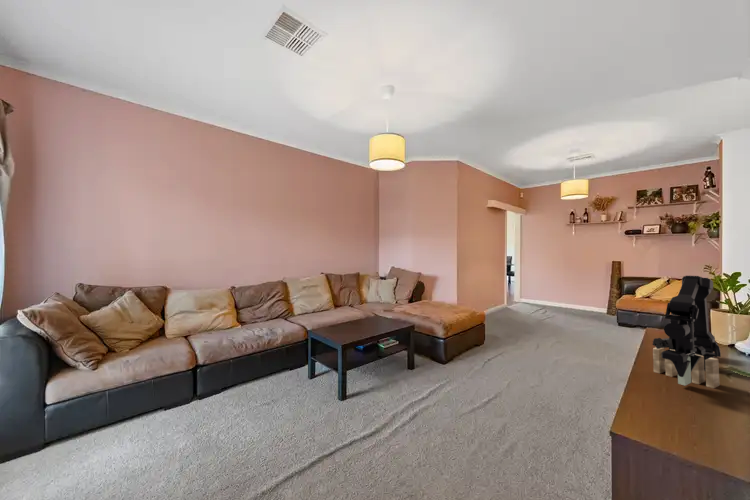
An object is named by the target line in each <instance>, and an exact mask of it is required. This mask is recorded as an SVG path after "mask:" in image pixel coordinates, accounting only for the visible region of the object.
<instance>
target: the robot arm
mask: <svg viewBox="0 0 750 500" xmlns="http://www.w3.org/2000/svg"><path fill="white" fill-rule="evenodd" d="M713 289H714V281H713V280H712V279H711V278H709V277H702V276H699V275H683V276H682V278H681V287H680V289H679V291H678V294H677V295H675V296H673V297H671V299H670V301H669V302H667V305H666V311H665V315H664V317H665V319H666V320H667V319H668V320H670V322H669V323H667V324H665V326H664V328H663V331H664V333H665V335H666V336H667V338H661V337H657V338H653V340H652V346H654V348H657V349H660V348H665V351H663V352H662V353H661V356H662V358H664V359H668V360H671V361H672V362H673V364H674V366H675V368H676V370H677V373H678V375H679V376H680V377H683V376H684V374H685V372H686V370H687V368H688V365H689V363H690V361H689V360H687V359H688V356H690V358H691V372H692V370H693V368H694V367H695V365H696V364H697V362H698V361H699V359H700V358H701V356H704V371H706V370H705V360H706V359H709V358H718V357H719V358H720V357H721V354H722V353H721V349H720V346H719V345H718V342H717V341H716V337H715V336H714V335H713V334H712V333H711V331H710V330H709V327H710V326H709V318H708V317H709V316H708V302H707V301H708V300H707V297H708V296H709V295H710V294H711V293H712V290H713ZM666 348H668V349H666ZM670 349H671V350H670ZM674 350H675V351H674ZM698 355H701V356H698ZM678 375H677V376H678Z"/></svg>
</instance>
